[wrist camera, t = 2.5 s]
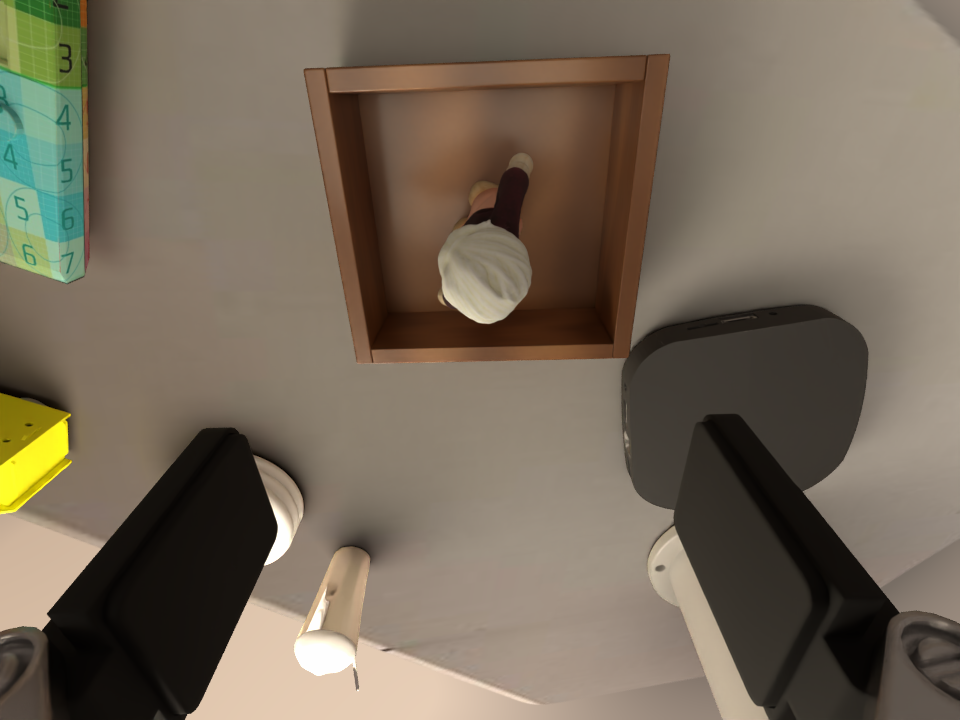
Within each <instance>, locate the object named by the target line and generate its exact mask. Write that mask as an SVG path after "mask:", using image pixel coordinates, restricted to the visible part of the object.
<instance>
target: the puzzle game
mask: <svg viewBox="0 0 960 720" xmlns="http://www.w3.org/2000/svg"><path fill="white" fill-rule="evenodd" d="M88 261H89V161H88V71H87V0H0V262H2V263H5V264H8V265H11V266H14V267H17V268H20V269H23V270H26V271H29V272H32V273H35V274H38V275H41V276H44V277H47V278H50V279H53V280H56V281H59V282H62V283H65V284H69V283H71V282H73V281H76V280H78V279H80V278H83V277H84V275H85V272H86V268H87V265H88Z"/></svg>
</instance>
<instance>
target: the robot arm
mask: <svg viewBox="0 0 960 720" xmlns="http://www.w3.org/2000/svg"><path fill="white" fill-rule="evenodd" d="M277 534H278V524H277V520H276V517H275V515H274V512H273V509H272V506H271V503H270V501H269V498H268V495H267V492H266V490H265V487H264V484H263V481H262V479H261V476H260V473H259V470H258V468H257V465H256V462H255V459H254V456H253V454H252V451H251V448H250V445H249V443H248V440H247V438H246V436H245V435H243V434H239V432H238V431H237V430H236V429H235V428H206V429H203V430H201V431H200V432H199V433H198V434H197V435H196V437H195V438H194V439H193V440H192V441H191V443H190V444H189V445H188V446H187V447H186V449H185V450H184V451H183V452H182V453H181V455H180V456H179V457H178V458H177V459H176V461H175V462H174V463H173V464H172V465H171V466H170V468H169V469H168V470H167V471H166V472H165V474H164V475H163V476H162V477H161V478H160V480H159V481H158V482H157V483H156V484H155V486H154V487H153V488H152V489H151V490H150V491H149V493H148V494H147V495H146V496H145V497H144V499H143V500H142V501H141V502H140V503H139V505H138V506H137V507H136V508H135V509H134V511H133V512H132V513H131V514H130V515H129V516H128V518H127V519H126V520H125V521H124V522H123V524H122V525H121V526H120V527H119V528H118V530H117V531H116V532H115V533H114V534H113V536H112V537H111V538H110V539H109V540H108V541H107V543H106V544H105V545H104V546H103V547H102V549H101V550H100V551H99V552H98V554H97V555H96V556H95V557H94V558H93V559H92V561H91V562H90V563H89V564H88V565H87V566H86V568H85V569H84V570H83V571H82V572H81V574H80V575H79V576H78V577H77V578H76V580H75V581H74V582H73V583H72V584H71V586H70V587H69V588H68V589H67V590H66V591H65V593H64V594H63V595H62V596H61V597H60V599H59V600H58V601H57V602H56V603H55V605H54V606H53V607H52V608H51V609H50V611H49V612H48V613H47V615H48V616H49V617H50V618H51V620H50V621H49V623H48V624H47V625H46V626H45V627H44V629H43V630H42V631H40V630H39V629H37V628H35V627H24V626H22V627H17V628H13V629H8V630H4V631H2V632H0V720H185V718H186V716H187V714H191V713H192V712H194V711H195V710H196V708H197V707H198V706H199V704H200V702H201V700H202V698H203V696H204V694H205V692H206V690H207V687H208V685H209V683H210V681H211V679H212V677H213V674H214V672H215V670H216V668H217V666H218V663H219V661H220V659H221V657H222V655H223V653H224V651H225V649H226V646H227V644H228V642H229V640H230V638H231V636H232V634H233V631H234V629H235V627H236V625H237V623H238V621H239V619H240V616H241V614H242V612H243V610H244V607H245V606H246V603H247V601H248V599H249V597H250V595H251V593H252V591H253V588H254V586H255V584H256V582H257V580H258V578H259V575H260V573H261V571H262V569H263V567H264V565H265V563H266V560H267V558H268V556H269V554H270V552H271V550H272V547H273V545H274V543H275V541H276V538H277ZM647 571H648V574H649V577H650V581H651V584H652V586H653V588H654V590H655V591H656V592H657V593H658V595H659V596H660V597H661V598H663V599H664V600H666V601H667V602H668V603H670V604H672V605H674V606H677V607H679V608H680V609H681V612H682V615H683V617H684V620H685V622H686V625H687V628H688V630H689V633H690V636H691V638H692V641H693V643H694V646H695V649H696V651H697V654H698V657H699V659H700V662H701V665H702V667H703V670H704V672H705V675H706V678H707V680H708V683H709V686H710V688H711V691H712V693H713V696H714V699H715V701H716V704H717V706H718V709H719V712H720V714H721V717H722V720H960V624H959V623H957V622H955V621H953V620H950V619H947V618H944V617H942V616H939V615H936V614H933V613H927V612H921V611H908V612H901V613H899V612H898V610H897V609H896V608H895V606H894V605H893V604H892V603H891V602H890V600H889V599H888V598H887V596H886V595H885V594H884V593H883V591H882V590H881V589H880V588H879V586H878V585H877V584H876V583H875V582H874V580H873V579H872V578H871V577H870V575H869V574H868V573H867V572H866V570H865V569H864V568H863V567H862V565H861V564H860V563H859V562H858V560H857V559H856V558H855V557H854V555H853V554H852V553H851V552H850V550H849V549H848V548H847V547H846V545H845V544H844V543H843V542H842V540H841V539H840V538H839V537H838V535H837V534H836V533H835V532H834V530H833V529H832V528H831V527H830V526H829V524H828V523H827V522H826V521H825V519H824V518H823V517H822V516H821V514H820V513H819V512H818V511H817V509H816V508H815V507H814V506H813V504H812V503H811V502H810V501H809V499H808V498H807V497H806V496H805V494H804V493H803V492H802V491H801V489H800V488H799V487H798V486H797V485H796V484H795V483H794V482H793V481H792V479H791V478H790V477H789V476H788V474H787V473H786V472H785V471H784V469H783V468H782V467H781V466H780V464H779V463H778V462H777V461H776V459H775V458H774V457H773V456H772V454H771V453H770V452H769V451H768V449H767V448H766V447H765V446H764V444H763V443H762V442H761V441H760V439H759V438H758V437H757V436H756V434H755V433H754V432H753V431H752V429H751V428H750V427H749V426H748V424H747V423H746V422H745V421H744V419H743V418H742V417H741V416H740V415H738V414H708V415H706V416H705V417H704V419H703V421H702V422H697V423H696V424H695V427H694V431H693V435H692V439H691V443H690V448H689V452H688V456H687V460H686V465H685V469H684V473H683V477H682V482H681V486H680V490H679V494H678V499H677V503H676V507H675V511H674V526H673V527H672V528H670V529H669V530H668V531H667V532H665V533H664V534H663V535H662V536H661V537H660V538H659V540H658V541H657V542H656V543H655V545H654V546H653V548H652V550H651V552H650V554H649V558H648V561H647Z"/></svg>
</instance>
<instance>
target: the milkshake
mask: <svg viewBox="0 0 960 720" xmlns="http://www.w3.org/2000/svg"><path fill="white" fill-rule="evenodd" d="M369 565H370V556H369V555H368V554H367V553H366V552H365V551H364V550H362V549H360V548H357V547H354V546H351V547H342V548H341V549H339V550H338V551H336V552H335V554H334V556H333V558H332V560H331V563H330V565H329V567H328V570H327V572H326V574H325V577H324V579H323V581H322V584H321V586H320V588H319V591H318V593H317V595H316V598H315V600H314V602H313V605H312V607H311V609H310V611H309V614H308V616H307V618H306V620H305V622H304V625H303V627H302V629H301V631H300V633H299V635H298V637H297V640H296V642H295V646H294V651H295V654H296V657H297V659H298V661H299V663H300V665H301V666H302V667H303V668H304V669H306V670H309V671H311V672H312V673H314V674H315V675H323V674H326V673H336V672H339V671H341V670H342V669H344V668H346V667H347V666H348V665H349V664H350V663H352V662H353V670H354V677H355V684H356V691H358V690H359V685H358V677H357V670H356V663H355V656H356V651H357V644H358V637H359V630H360V623H361V613H362V606H363V601H364V595H365V589H366V583H367V577H368V571H369Z"/></svg>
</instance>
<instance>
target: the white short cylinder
mask: <svg viewBox="0 0 960 720" xmlns="http://www.w3.org/2000/svg"><path fill="white" fill-rule="evenodd" d="M253 456H254V459H255V462H256V465H257V468H258V470H259V473H260V476H261V479H262V481H263V484H264V487H265V490H266V492H267V495H268V498H269V501H270V503H271V506H272V509H273V512H274V515H275V517H276V520H277V524H278V534H277V538H276V541H275V543H274V545H273V547H272V550H271V552H270V554H269V556H268V558H267V560H266V563H265V565H267V564H270V563H272V562H274V561H275V560H277V559H278V558H280V557H281V556H282V555H283V554H284V553H285V552H286V551H287V549H288V548H289V546H290V545H291V543H292V540H293V537H294V535H295V533H296V531H297V529H298V526H299V524H300V522H301V520H302V517H303V511H304V504H303V498H302V495H301V493H300V490H299V489H298V487H297V485H296V484H295V482H294V481H293V480H292V479H291V478H290V477H289V475H287V474H286V473H285V472H284V471H283V470H282V469H280V468H279V467H277V466H276V465H274V464H273V463H271V462H269V461H267V460H265V459H263V458H260V457H258V456H255V455H253Z"/></svg>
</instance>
